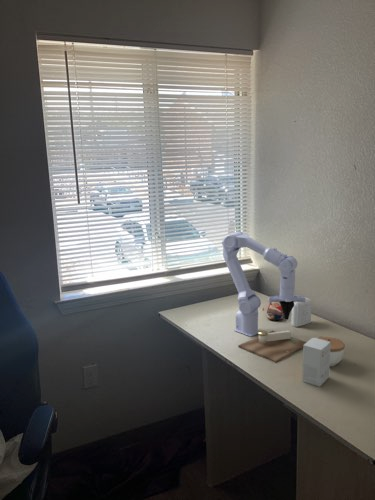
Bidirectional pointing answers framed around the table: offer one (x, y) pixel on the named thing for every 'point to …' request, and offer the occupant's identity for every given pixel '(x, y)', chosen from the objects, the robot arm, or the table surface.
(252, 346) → the board
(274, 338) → the peg lever
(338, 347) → the lidded jar
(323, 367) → the small box
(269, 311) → the pencil case
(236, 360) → the table surface
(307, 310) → the photo printer
